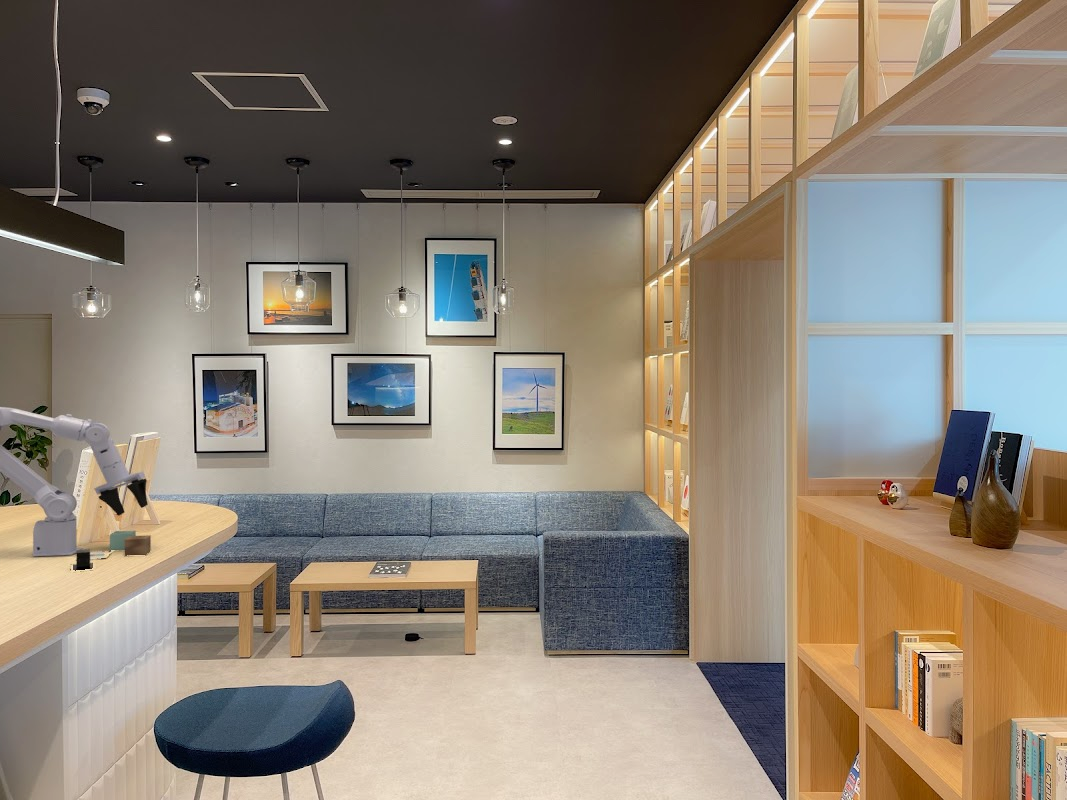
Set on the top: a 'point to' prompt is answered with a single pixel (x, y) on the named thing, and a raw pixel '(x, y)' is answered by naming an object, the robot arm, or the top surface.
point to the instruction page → (97, 555)
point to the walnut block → (137, 545)
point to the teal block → (120, 539)
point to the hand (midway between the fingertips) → (132, 510)
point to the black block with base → (82, 560)
